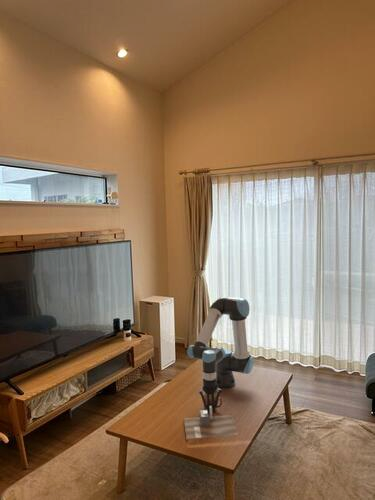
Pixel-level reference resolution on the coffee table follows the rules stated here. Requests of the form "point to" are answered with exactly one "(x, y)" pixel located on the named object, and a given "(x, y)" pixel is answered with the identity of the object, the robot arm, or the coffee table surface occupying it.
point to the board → (210, 427)
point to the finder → (205, 417)
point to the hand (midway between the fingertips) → (210, 417)
